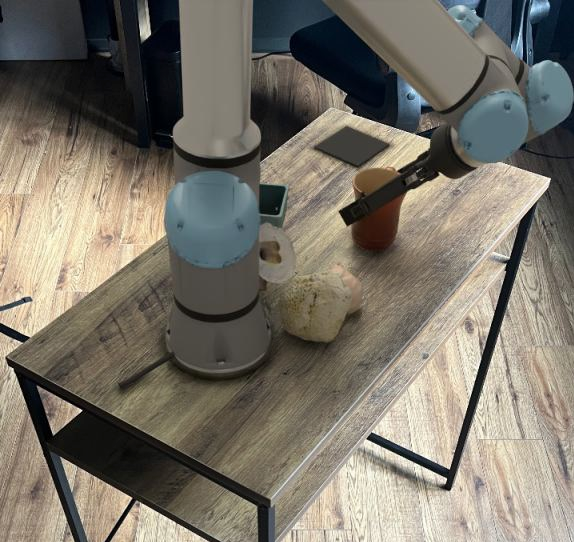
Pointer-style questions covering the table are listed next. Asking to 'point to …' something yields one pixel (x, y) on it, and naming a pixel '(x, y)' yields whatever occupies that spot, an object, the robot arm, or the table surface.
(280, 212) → the flower pot
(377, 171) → the mug
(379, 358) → the table surface
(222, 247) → the robot arm
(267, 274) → the figurine
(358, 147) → the mat
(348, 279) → the garlic bulb
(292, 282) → the decorative item
